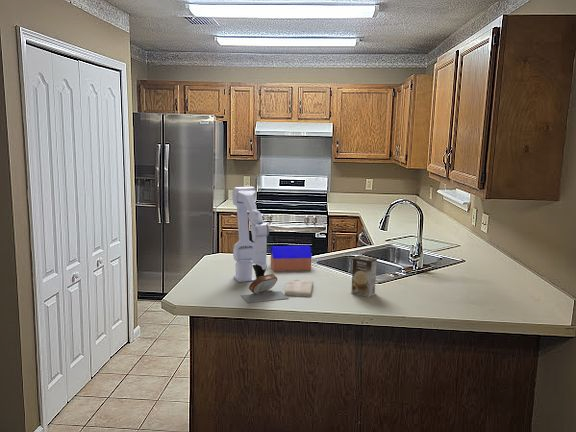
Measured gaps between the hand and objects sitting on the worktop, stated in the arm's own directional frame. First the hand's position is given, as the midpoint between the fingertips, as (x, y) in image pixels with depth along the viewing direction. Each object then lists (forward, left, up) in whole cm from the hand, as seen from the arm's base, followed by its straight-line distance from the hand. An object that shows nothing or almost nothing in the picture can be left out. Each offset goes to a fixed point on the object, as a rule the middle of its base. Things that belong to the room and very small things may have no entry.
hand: (259, 281), depth 224 cm
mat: (+7, 0, -5) cm, 9 cm away
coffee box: (+15, +43, -5) cm, 46 cm away
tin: (0, 0, -4) cm, 4 cm away
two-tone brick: (-34, +27, -5) cm, 44 cm away
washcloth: (+2, +18, -6) cm, 19 cm away
